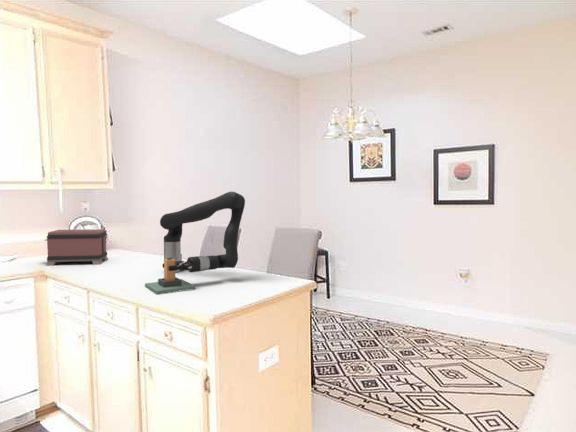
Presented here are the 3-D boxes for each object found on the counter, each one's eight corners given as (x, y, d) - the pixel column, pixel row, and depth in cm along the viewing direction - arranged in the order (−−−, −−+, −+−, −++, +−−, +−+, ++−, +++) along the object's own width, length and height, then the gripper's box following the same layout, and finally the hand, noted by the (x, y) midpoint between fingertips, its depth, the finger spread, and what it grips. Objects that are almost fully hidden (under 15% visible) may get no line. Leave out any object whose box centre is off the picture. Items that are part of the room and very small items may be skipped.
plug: (172, 283, 192) (172, 257, 191) (175, 284, 189) (175, 258, 188) (164, 284, 190) (163, 257, 189) (166, 285, 187) (166, 259, 186)
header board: (181, 282, 202) (181, 274, 202) (195, 289, 187) (195, 280, 187) (144, 286, 192) (144, 278, 191) (156, 294, 177) (156, 285, 177)
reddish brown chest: (52, 260, 262) (52, 229, 261) (108, 259, 268) (107, 229, 267) (40, 266, 243) (39, 232, 242) (100, 264, 249) (99, 231, 248)
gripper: (192, 254, 203) (160, 257, 193) (204, 258, 191) (170, 261, 182) (192, 269, 203) (160, 272, 194) (204, 273, 191) (170, 277, 182)
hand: (165, 267), depth 188 cm, fingers open, 8 cm apart
